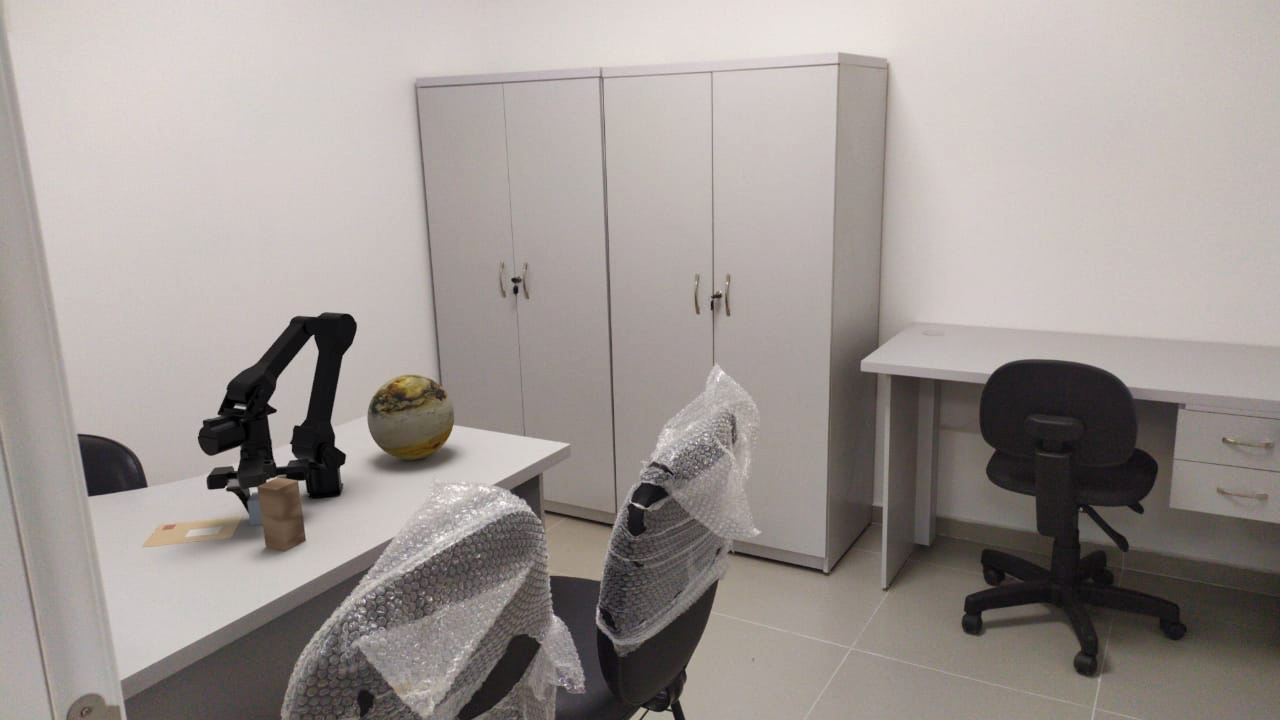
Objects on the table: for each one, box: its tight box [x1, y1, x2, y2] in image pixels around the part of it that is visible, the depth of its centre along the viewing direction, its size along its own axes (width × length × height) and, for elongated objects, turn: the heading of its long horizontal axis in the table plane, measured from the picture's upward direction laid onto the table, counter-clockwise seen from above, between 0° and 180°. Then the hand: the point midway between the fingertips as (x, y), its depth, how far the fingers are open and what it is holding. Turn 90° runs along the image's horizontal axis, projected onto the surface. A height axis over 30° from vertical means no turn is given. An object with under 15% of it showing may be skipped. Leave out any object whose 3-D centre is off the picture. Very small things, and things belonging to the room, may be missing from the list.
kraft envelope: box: [141, 515, 244, 548], centre depth 180 cm, size 16×11×1 cm
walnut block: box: [256, 477, 307, 552], centre depth 171 cm, size 5×5×12 cm
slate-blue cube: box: [247, 491, 263, 526], centre depth 184 cm, size 5×5×5 cm
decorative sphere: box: [367, 374, 455, 461], centre depth 216 cm, size 20×20×20 cm
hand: (265, 514), depth 185 cm, fingers closed on slate-blue cube, 5 cm apart
